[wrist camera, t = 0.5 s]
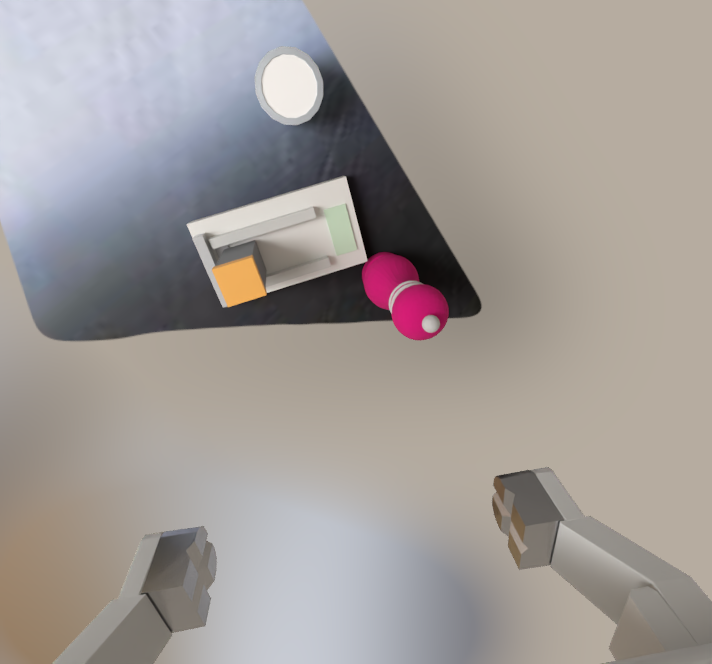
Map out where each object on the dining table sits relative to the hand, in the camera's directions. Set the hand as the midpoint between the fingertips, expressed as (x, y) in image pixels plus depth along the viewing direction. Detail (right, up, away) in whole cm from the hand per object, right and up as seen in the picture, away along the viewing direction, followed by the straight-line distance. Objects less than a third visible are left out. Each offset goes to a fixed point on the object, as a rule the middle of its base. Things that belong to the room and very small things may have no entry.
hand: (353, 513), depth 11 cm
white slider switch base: (-10, +17, +42) cm, 46 cm away
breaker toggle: (-14, +14, +39) cm, 44 cm away
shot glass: (-8, +32, +35) cm, 49 cm away
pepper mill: (+4, +13, +46) cm, 48 cm away
